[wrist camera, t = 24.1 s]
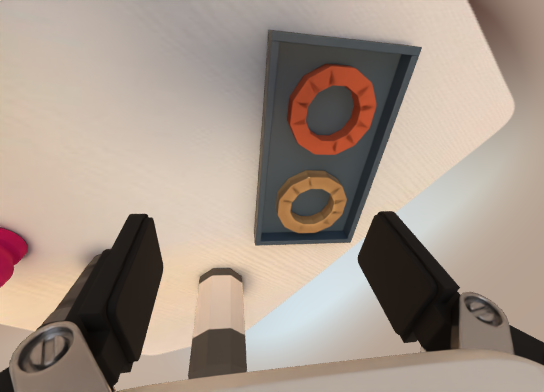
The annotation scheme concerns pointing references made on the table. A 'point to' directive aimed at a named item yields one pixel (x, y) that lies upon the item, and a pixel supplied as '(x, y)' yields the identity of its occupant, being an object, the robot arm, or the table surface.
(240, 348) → the wine bottle
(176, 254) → the table surface
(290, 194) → the birch ring
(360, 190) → the tray
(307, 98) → the terracotta ring
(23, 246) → the pepper mill
